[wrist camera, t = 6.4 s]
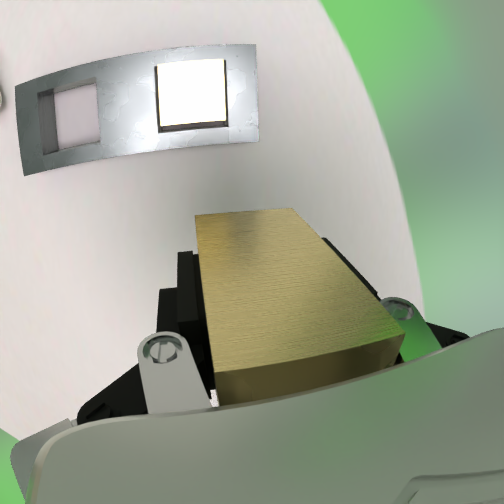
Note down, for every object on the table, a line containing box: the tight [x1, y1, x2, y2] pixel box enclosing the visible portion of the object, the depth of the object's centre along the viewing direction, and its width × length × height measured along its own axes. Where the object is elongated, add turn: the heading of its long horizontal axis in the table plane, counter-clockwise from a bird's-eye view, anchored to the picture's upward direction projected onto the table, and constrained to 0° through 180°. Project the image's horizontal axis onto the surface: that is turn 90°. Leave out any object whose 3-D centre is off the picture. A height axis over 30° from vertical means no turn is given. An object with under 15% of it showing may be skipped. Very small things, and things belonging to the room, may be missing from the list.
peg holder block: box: [15, 44, 259, 176], centre depth 19 cm, size 20×8×8 cm, turn 92°
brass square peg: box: [195, 208, 406, 406], centre depth 10 cm, size 4×4×8 cm
